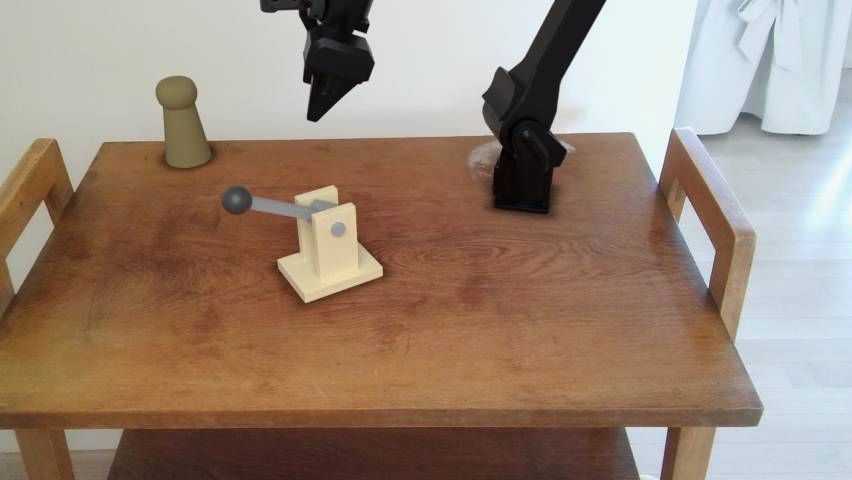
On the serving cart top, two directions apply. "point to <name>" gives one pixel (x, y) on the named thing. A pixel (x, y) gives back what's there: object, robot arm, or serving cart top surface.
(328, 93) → the robot arm
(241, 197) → the switch lever
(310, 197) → the switch bracket
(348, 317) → the serving cart top surface
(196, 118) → the olive pawn
